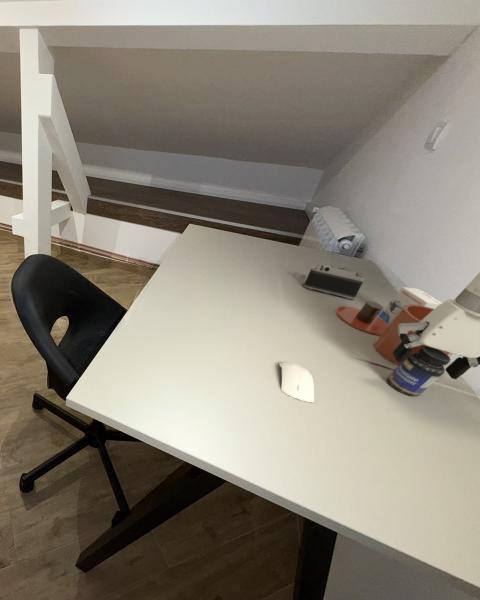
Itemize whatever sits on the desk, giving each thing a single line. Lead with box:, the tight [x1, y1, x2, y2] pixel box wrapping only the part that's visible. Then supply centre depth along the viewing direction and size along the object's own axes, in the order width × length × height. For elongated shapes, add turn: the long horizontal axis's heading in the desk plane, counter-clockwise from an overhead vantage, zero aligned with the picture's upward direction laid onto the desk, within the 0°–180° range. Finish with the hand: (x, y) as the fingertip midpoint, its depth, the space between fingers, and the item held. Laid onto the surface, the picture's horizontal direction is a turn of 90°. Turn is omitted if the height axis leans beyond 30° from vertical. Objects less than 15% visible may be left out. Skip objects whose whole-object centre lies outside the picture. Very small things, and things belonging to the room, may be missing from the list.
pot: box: [373, 304, 453, 367], centre depth 80 cm, size 13×13×13 cm
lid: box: [335, 300, 389, 336], centre depth 94 cm, size 14×14×7 cm
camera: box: [303, 263, 366, 300], centre depth 110 cm, size 16×9×10 cm, turn 68°
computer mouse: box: [278, 361, 315, 403], centre depth 72 cm, size 7×12×2 cm, turn 156°
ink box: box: [378, 286, 443, 325], centre depth 93 cm, size 9×5×12 cm, turn 179°
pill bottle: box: [387, 346, 451, 397], centre depth 71 cm, size 6×6×11 cm
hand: (422, 366), depth 70 cm, fingers open, 9 cm apart
